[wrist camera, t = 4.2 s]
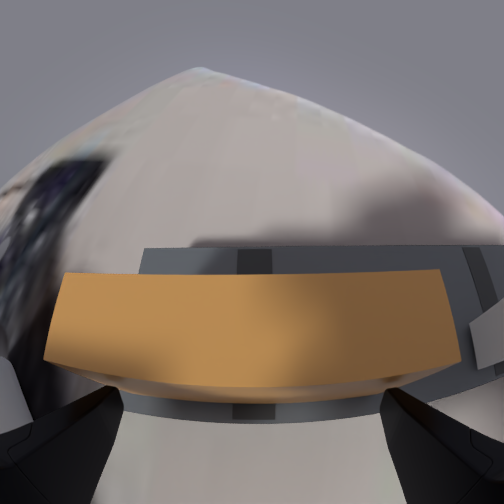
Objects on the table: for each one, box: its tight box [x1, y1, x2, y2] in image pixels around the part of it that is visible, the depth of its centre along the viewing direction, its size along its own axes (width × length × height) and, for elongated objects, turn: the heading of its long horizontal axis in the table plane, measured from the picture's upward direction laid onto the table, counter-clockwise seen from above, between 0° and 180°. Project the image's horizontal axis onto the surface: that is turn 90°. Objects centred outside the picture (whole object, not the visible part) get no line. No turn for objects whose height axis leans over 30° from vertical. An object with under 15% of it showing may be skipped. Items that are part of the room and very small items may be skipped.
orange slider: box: [43, 269, 461, 404], centre depth 10 cm, size 3×12×7 cm, turn 90°
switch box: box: [119, 245, 504, 424], centre depth 16 cm, size 10×30×4 cm, turn 90°
